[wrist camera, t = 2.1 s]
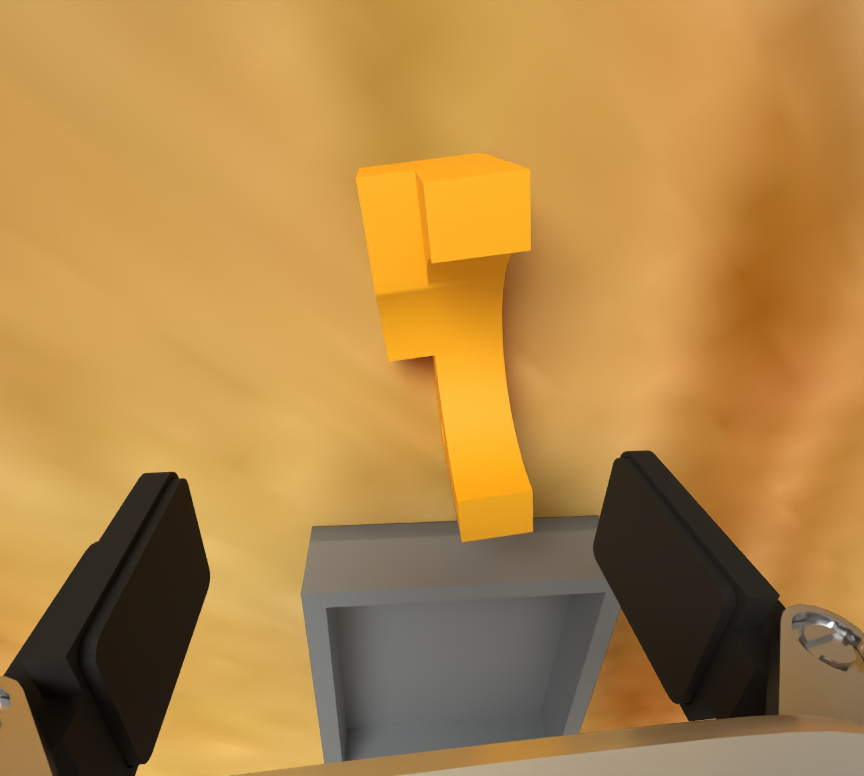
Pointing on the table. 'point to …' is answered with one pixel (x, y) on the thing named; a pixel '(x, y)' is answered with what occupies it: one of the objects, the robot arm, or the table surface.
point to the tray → (452, 634)
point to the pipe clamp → (456, 313)
